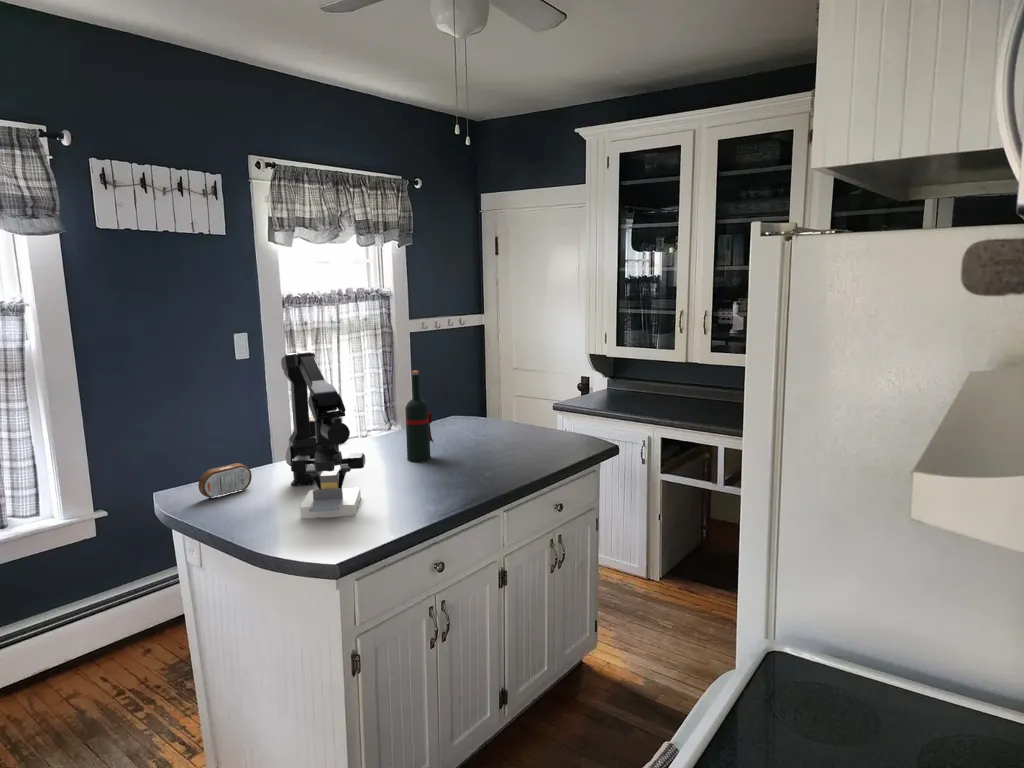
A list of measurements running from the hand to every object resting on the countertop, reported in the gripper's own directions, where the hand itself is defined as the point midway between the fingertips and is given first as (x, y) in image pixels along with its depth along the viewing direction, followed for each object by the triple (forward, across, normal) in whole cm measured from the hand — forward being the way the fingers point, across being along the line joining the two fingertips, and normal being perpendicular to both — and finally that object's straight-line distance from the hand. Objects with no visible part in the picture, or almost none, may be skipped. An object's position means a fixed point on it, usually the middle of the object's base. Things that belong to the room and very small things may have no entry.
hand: (330, 492), depth 182 cm
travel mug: (+4, -8, +32) cm, 33 cm away
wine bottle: (+4, +23, +44) cm, 50 cm away
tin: (+4, -32, +16) cm, 36 cm away
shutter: (+1, 0, -8) cm, 8 cm away
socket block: (+4, 0, 0) cm, 4 cm away
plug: (+3, 0, 0) cm, 3 cm away
